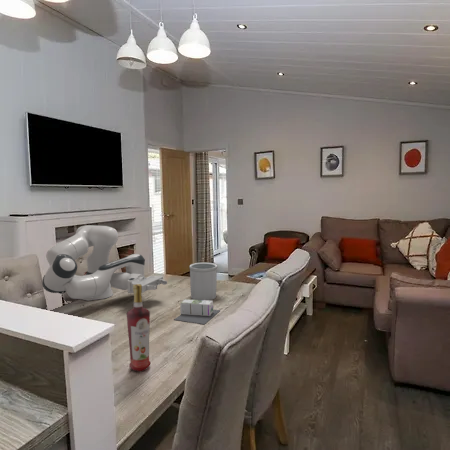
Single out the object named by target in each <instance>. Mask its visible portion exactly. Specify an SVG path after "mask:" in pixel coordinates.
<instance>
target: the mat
mask: <svg viewBox="0 0 450 450" xmlns="http://www.w3.org/2000/svg"><path fill="white" fill-rule="evenodd" d="M219 312H221V310H219V309H213V313H212V314H211V316H202V315H185V314H181V313H180V314H179V316H177V317H176V318H174V319H173V320H174V321H178V322H185V323H191V324H198V325H204V326H205V325H206V324H207V323H208V322H209V321H210V320H212V319H213V318H214V317H215V316H216V315H217V314H218V313H219Z"/></svg>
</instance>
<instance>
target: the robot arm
mask: <svg viewBox="0 0 450 450" xmlns="http://www.w3.org/2000/svg"><path fill="white" fill-rule="evenodd" d="M118 240H119V233H118V231H117V230H116V229H115V228H114V227H111V226H108V225H93V224H91V225H90V224H88V225H87V224H86V225H82V226H79V227H78V228H77V229H76V230H75V234H73V235H72V236H70V237H68V238H66V239H64V240H62V241H60V242H58V243H56V244H54V245H53V246H52V247H51V248H50V249H49V250H48V251H47V253H46V260H47V263H48V264H49V265H50V266H49V267H48V269H47V271H46V272H45V274H44V275H43V277H42V281H41V282H42V283H41V284H42V289H44V290H45V291H46V292H49V293H51V294H60V295H63V294H65V293H67V296H68V297H69V298H70V299H74V300H77V299H78V300H83V301H86V302H89V301H93V300H103V299H107V298H110V297H112V296H113V295H114V292H113V289H112V288H115V289H118V290H122V291H123V290H124V291H127V294H134V292H133V285H135V284H141V285H142V292H141V294H143V293H146V292H147V291H150V290H154V291H155V290H157V289H158V286H160V285H164V286H165V285H167V284H168V281H167V280H165V279H164V276H162V275H150V276H147V277H146V276H145V264H146V263H145V261H146V258H145V257H143V255H142V254H140V253H133V254H130V255H126V256H125V257H122V258H120V259H116V260H112V261H110V252H111V249H112V248H113V247H114V246H115V244H116V243H117V242H118ZM90 247H93V248H92V252H91V253H90V254H88V256H87V258H86V266H87V268H86V269H87V271H85V272H83V275H77V274H76V273H77V271H78V263H77V262H76V260H77V259H79V258H80V257H83V256H84V255H87V253H88V252H89V248H90ZM109 261H110V262H109ZM123 268H125V272H123V271H122V272H116V271H117V270H120V269H123Z"/></svg>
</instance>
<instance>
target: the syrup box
mask: <svg viewBox="0 0 450 450" xmlns="http://www.w3.org/2000/svg"><path fill="white" fill-rule="evenodd" d="M179 310H180V315H181V314H185V315H202V316H211V314H212V313H213V310H214V300H194V299H187V298H184V299H183V300H182V301H181V302H180V308H179Z"/></svg>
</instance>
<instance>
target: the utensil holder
mask: <svg viewBox="0 0 450 450" xmlns="http://www.w3.org/2000/svg"><path fill="white" fill-rule="evenodd" d="M217 269H218V265H217V264H216V263H213V262H195V263H191V264H190V265H189V277H190V279H189V280H190V297H191V300H208V301H213V300H215V299H216V297H217V277H218V275H217V271H218V270H217Z"/></svg>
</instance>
